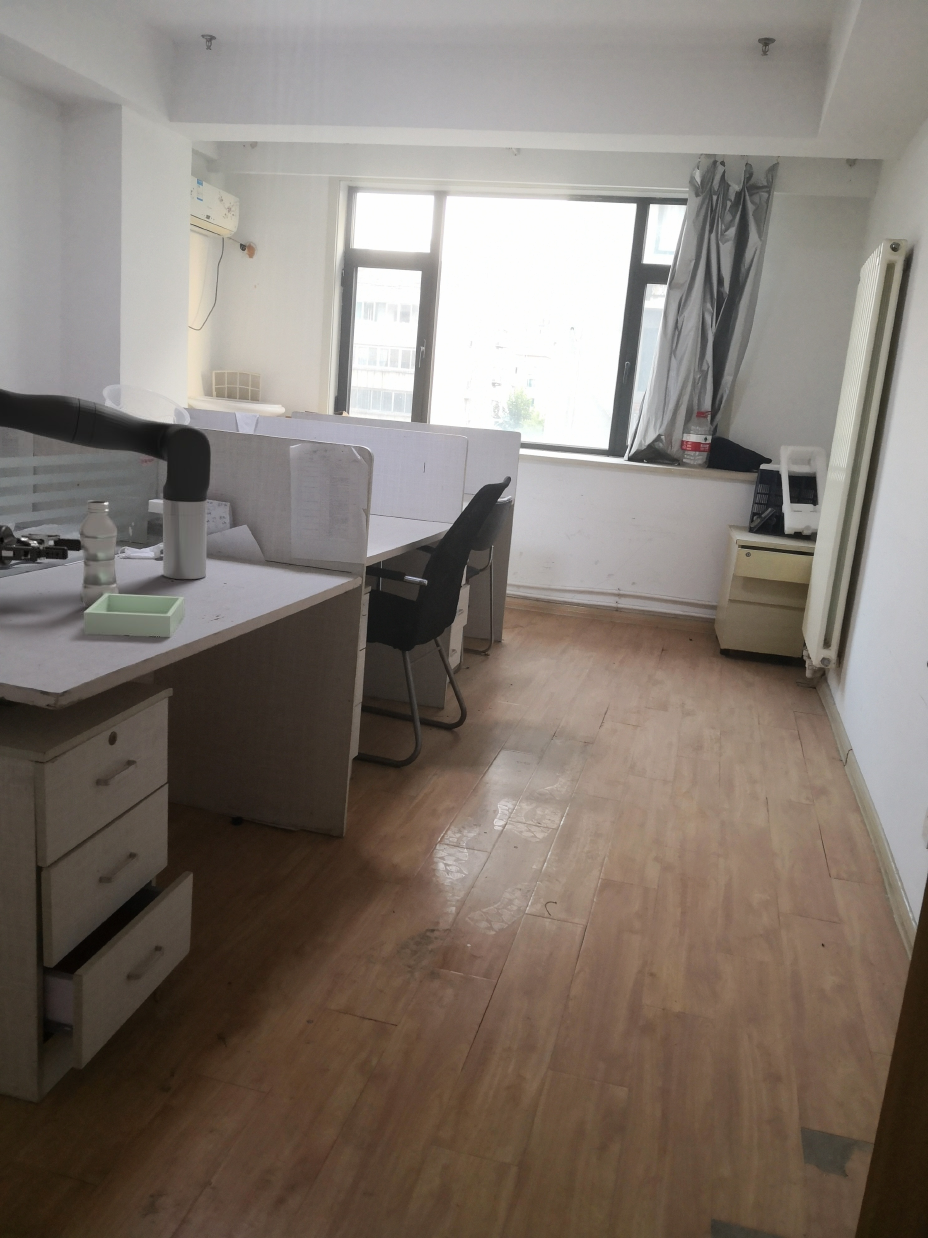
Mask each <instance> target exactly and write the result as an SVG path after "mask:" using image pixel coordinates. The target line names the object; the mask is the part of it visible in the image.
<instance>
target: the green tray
mask: <svg viewBox="0 0 928 1238" xmlns="http://www.w3.org/2000/svg"><path fill="white" fill-rule="evenodd" d="M185 598H186V597H185V596H167V595H149V594H148V595H145V594H128V593H127V594H125V593H124V594H123V593H119V594H107V593H106V594H104V595H103V596H102V597H101V598H100V599H99V600H97V601H96V602H95V603H94V604H93V605H92V606H90V607H87V609H86V610H85V611H83V623H84V624H83V629H84V635H99V634H100V635H99V636H101V635H105V636H107V635H108V636H124V635H129V636H130V637H149V636H156V637H155V638H171V637H172V635H173V634H174V633H175V631H176V630H177V629H176V628H178V627H179V626H178V625H181V623H182V621H183V620H184V618H185V614H186V613H185V612H186V611H185V610H186V609H185V603H186V602H185ZM129 636H128V637H129ZM157 636H158V637H157ZM159 636H160V637H159Z"/></svg>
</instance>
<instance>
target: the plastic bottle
mask: <svg viewBox="0 0 928 1238" xmlns="http://www.w3.org/2000/svg"><path fill="white" fill-rule="evenodd" d="M86 512H87V513H88V514H87V516H86V517H85V518H84V519H83V521H82V522H81V524H80V526H79V529H78V533H79V539H80V540H81V545H82V550H81V551H82V558H83V561H82V562H83V572H82V573H83V575H82V576H83V578H82V584H81V585H82V586H81V590H80V597H81V600H82V603H83V605H84V606H86V607H87V608H89V607H90V606H92V605H93V604H94V603H95V602H96V601H97V600H99V599H100V598H101V597H102V596H103V595H104V594H106V593H107V594H120V591H119V586H118V583H117V575H116V573H117V572H116V566H115V565H116V563H115V562H116V559H115V558H116V548H117V547H116V546H117V536H118V529H117V526H116V524H115V522H114V521H113V520H112V518H110V515H109V512H110V503H109V501H105V500H87V501H86Z"/></svg>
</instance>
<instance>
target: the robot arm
mask: <svg viewBox="0 0 928 1238" xmlns="http://www.w3.org/2000/svg"><path fill="white" fill-rule="evenodd" d="M0 427H1V428H7V429H13V430H18V431H22V432H26V433H29V434H31V435H37V436H39V437H44V438H49V439H53V440H57V441H61V442H65V443H67V444H68V443H69V444H73V445H78V446H83V447H87V448H93V449H100V450H106V451H123V452H133V453H138V454H142V455H144V456H147V457H151V458H154V459H158V460H162V461H163V462H166V479H165V480H166V481H165V483H164V485H163V487H162V540H163V541H162V551H163V552H162V554H163V555H162V564H163V565H162V566H163V567H162V570H163V571H162V572H163V576H164V577H166V578H169V579H177V580H195V579H202V578H205V577H206V576H207V530H208V529H207V525H208V523H207V522H208V521H207V519H208V516H207V513H208V512H207V510H208V509H207V503H208V500H207V498H208V491H209V488H210V485H211V484H210V482H211V464H212V463H211V461H212V460H211V459H212V454H211V453H212V452H211V451H212V450H211V445H210V440H209V438H208V437H207V435H206V434H205V433H204V432H203V430H201V429H200V428H198V427H195V426H192V425H187V424H183V423H170V422H165V421H163V422H162V421H156V420H150V419H145V418H140V417H137V416H134V415H131V414H129V413H127V412H124V411H122V410H120V409H117V408H114V407H110V406H108V405H105V404H101V403H99V402H98V403H97V402H95V401H92V400H88V399H82V398H79V397H73V396H69V395H68V396H67V395H61V394H60V395H59V394H31V393H30V394H28V393H20V392H15V391H10V390H7V389H3V388H0ZM51 541H53V543H52V544H49V543H50V542H51ZM80 551H83V550H82V545H81V540H80V538H62V537H61V535H59V534H42V533H41V534H40V533H38V534H37V533H27V534H21V536H15V534H14V532H13V529H12V528H11V527H10V526H8V525H5V524H0V567H8V566H9V565H10V564H11V563H12V561H15V562H16V561H17V562H30V563H31V562H32V563H37V562H38V561H45V559H46V560H58V561H59V560H63V561H65V560H67V559H68V558H69V552H80Z"/></svg>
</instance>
